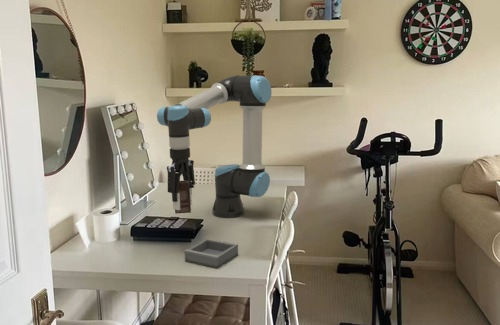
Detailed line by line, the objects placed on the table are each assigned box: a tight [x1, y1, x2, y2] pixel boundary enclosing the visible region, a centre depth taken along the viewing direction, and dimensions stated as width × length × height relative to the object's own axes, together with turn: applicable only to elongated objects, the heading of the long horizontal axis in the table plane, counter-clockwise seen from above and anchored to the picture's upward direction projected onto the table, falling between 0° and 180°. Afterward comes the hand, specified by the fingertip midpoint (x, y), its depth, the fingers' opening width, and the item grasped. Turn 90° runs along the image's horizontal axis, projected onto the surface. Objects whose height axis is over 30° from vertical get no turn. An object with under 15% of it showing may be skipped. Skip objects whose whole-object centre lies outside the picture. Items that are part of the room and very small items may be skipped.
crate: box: [183, 237, 239, 269], centre depth 183 cm, size 14×14×4 cm
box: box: [174, 179, 192, 215], centre depth 189 cm, size 6×4×12 cm
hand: (182, 206), depth 190 cm, fingers closed on box, 7 cm apart
